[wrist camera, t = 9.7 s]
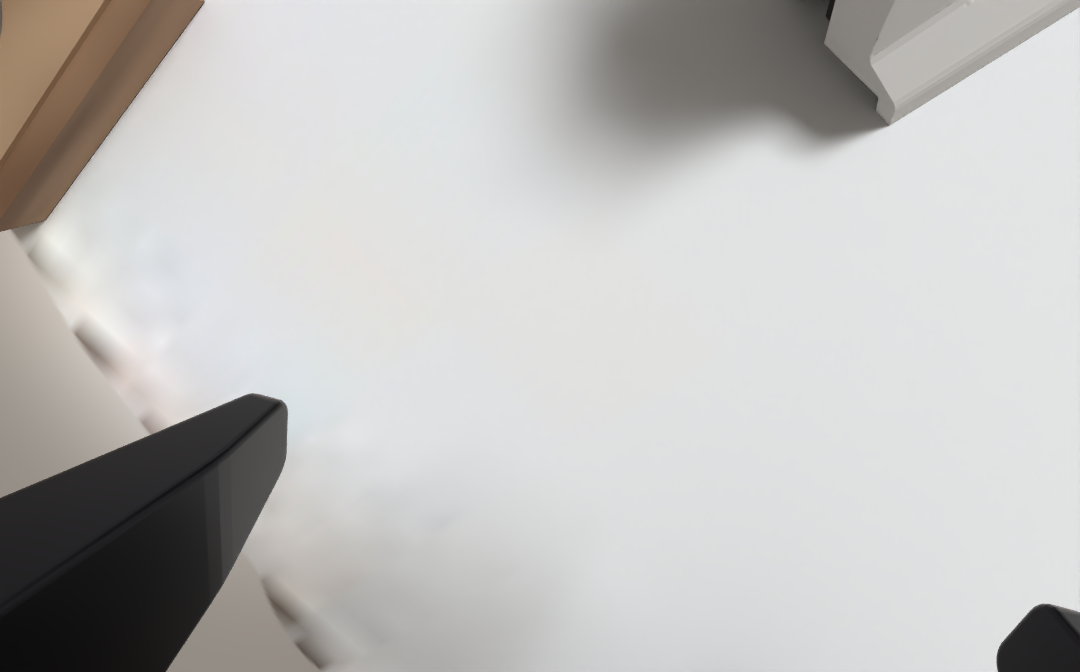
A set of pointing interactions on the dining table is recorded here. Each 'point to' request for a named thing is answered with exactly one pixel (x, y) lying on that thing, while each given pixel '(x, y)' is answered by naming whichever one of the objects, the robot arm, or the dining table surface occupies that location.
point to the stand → (70, 88)
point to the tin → (0, 17)
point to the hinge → (929, 42)
